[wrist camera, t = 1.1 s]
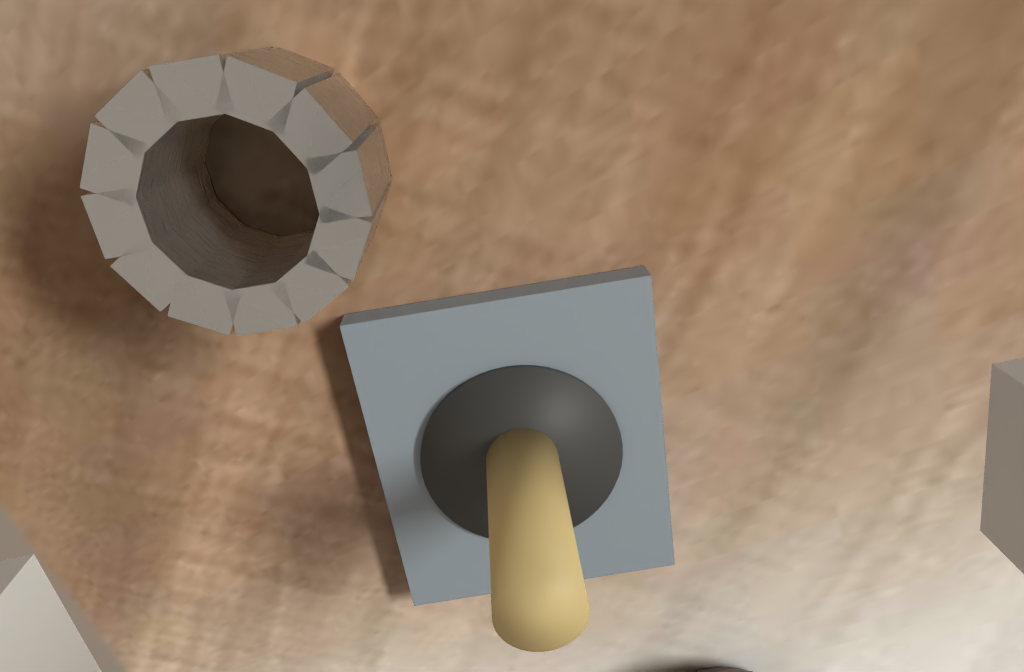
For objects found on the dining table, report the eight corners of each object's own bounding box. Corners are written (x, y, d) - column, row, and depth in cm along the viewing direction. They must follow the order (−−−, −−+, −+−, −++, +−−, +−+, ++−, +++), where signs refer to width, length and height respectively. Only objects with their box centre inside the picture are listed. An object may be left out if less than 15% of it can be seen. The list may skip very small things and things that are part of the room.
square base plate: (344, 314, 29) (286, 453, 20) (644, 265, 29) (726, 382, 20) (415, 587, 35) (396, 795, 26) (668, 547, 35) (741, 742, 25)
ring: (130, 70, 25) (36, 84, 20) (360, 32, 25) (330, 35, 20) (204, 287, 29) (141, 351, 23) (408, 254, 29) (394, 310, 23)
